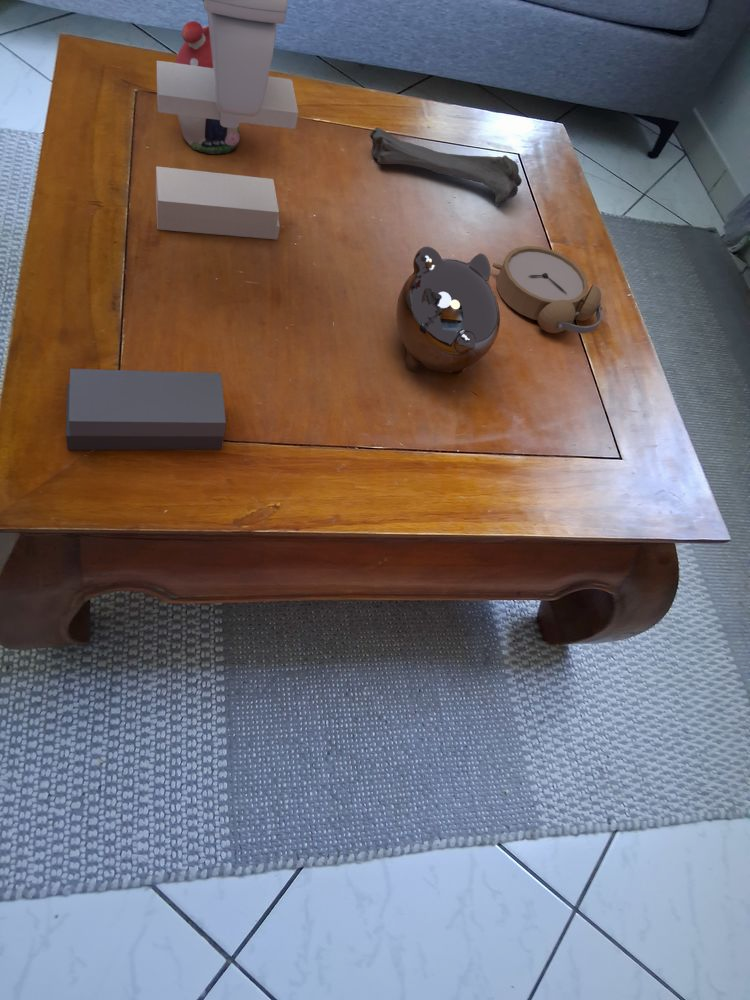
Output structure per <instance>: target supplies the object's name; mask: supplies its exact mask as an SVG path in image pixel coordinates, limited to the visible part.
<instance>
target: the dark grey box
mask: <svg viewBox="0 0 750 1000" xmlns="http://www.w3.org/2000/svg"><path fill="white" fill-rule="evenodd" d="M223 389H224V388H223V378H222V373H221V372H199V371H196V372H195V371H193V372H192V371H162V370H130V369H129V370H127V369H96V368H95V369H94V368H93V369H92V368H91V369H89V368H70V369H69V383H68V384H67V385H66V412H65V413H66V414H65V416H66V417H65V422H66V423H65V441H66V447H67V451H68V450H69V451H71V450H72V451H122V450H123V451H132V450H133V451H171V450H172V451H190V450H191V451H210V450H211V451H212V450H213V451H221V450H223V444H224V439H225V431H226V424H227V420H226V419H227V418H226V409H225V399H224V390H223Z"/></svg>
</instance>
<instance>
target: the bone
mask: <svg viewBox="0 0 750 1000" xmlns="http://www.w3.org/2000/svg"><path fill="white" fill-rule="evenodd" d="M369 137H370V139H371V140H372V142H371V143H372V147H371V156H372V157H373V158H375V159H376V160H377V164H379V165H407V166H414V167H418V168H422V169H423V168H424V169H427V170H429V171H432V172H434V173H437V174H440V175H441V174H442V175H446V176H451V177H453V178H457V179H462V180H466V181H470V182H474V183H479V184H482V185H484V186H486V187H487V188H488V189H490V190H491V191H492V192H493V193H494V197H495V201H494V203H495V206H497V207H501V206H503V205H504V204H505V203H506V202H507V200H508V199H510V198H514V197H515V196H517V194H518V192H519V188H518V187H520V186H521V185H522V182H523V180H522V178H521V176H520V174H519V173H520V169H519V165H518V163H517V162H516V161H515V160H514V159H512V158H510V157H509V156H508V155H506V154H505V155H503V156H491V155H489V156H488V155H483V156H482V155H467V154H466V155H465V154H455V153H446V152H441V151H437V150H433V149H431V148H428V147H425V146H422V145H419V144H415V143H412V142H409V141H404V140H401V139H399V138H397V137H395V136H394V135H392V134H390V133H388V132H387V131H386V130H385V129H384V130H383V129H381V127H380V128H379V127H375V129H373V130H372V131H371V132H370V133H369Z"/></svg>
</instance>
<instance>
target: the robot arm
mask: <svg viewBox="0 0 750 1000" xmlns="http://www.w3.org/2000/svg"><path fill="white" fill-rule="evenodd" d="M288 1H289V0H202V4H203V8H204V9H203V10H204V11H205V12H206V13H207V21H208V23H207V24H208V26H209V33H210V43H211V53H212V63H213V72H214V82H215V95H216V104H217V108H218V110H219V117H220V124H221V126H223V127H227V128H237V127H239V126H240V124H241V123H240V116H245V117H255V116H257V115H258V113H259V111H260V109H261V107H262V104H263V101H264V96H265V91H266V86H267V82H268V77H269V76H270V71H271V65H272V60H273V55H274V50H275V45H276V44H275V43H276V37H277V25H278V24H279V25H280V24H281V25H282V24H284V23H285V22H286V18H287V17H286V16H287V12H288V11H287V10H288V3H289V2H288Z"/></svg>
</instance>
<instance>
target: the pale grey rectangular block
mask: <svg viewBox="0 0 750 1000" xmlns="http://www.w3.org/2000/svg"><path fill="white" fill-rule="evenodd" d="M294 88H295V87H294V82H293V79H291V78H290V79H289V78H284V77H278V76H277V77H276V76H271V75H269V77H268V82H267V86H266V91H265V96H264V101H263V104H262V107H261V109H260V111H259V113H258V115H257V116H255V117H245V116H240V123H239V124H241V123H242V124H249V125H256V126H257V125H258V126H265V127H273V128H281V129H290V130H296V128H297V123H298V117H299V110H298V104H297V100H296V99H297V98H296V94H295V93H296V92H295V89H294ZM156 99H157V102H156V103H157V113H159V114H167V115H168V114H169V115H176V116H178V115H183V116H191V117H200V118H208V119H216V120H220V117H219V110H218V108H217V104H216V95H215V82H214V72H213V68H207V67H200V66H193V65H186V64H179V63H175V62H173V61H165V60H156Z"/></svg>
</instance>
